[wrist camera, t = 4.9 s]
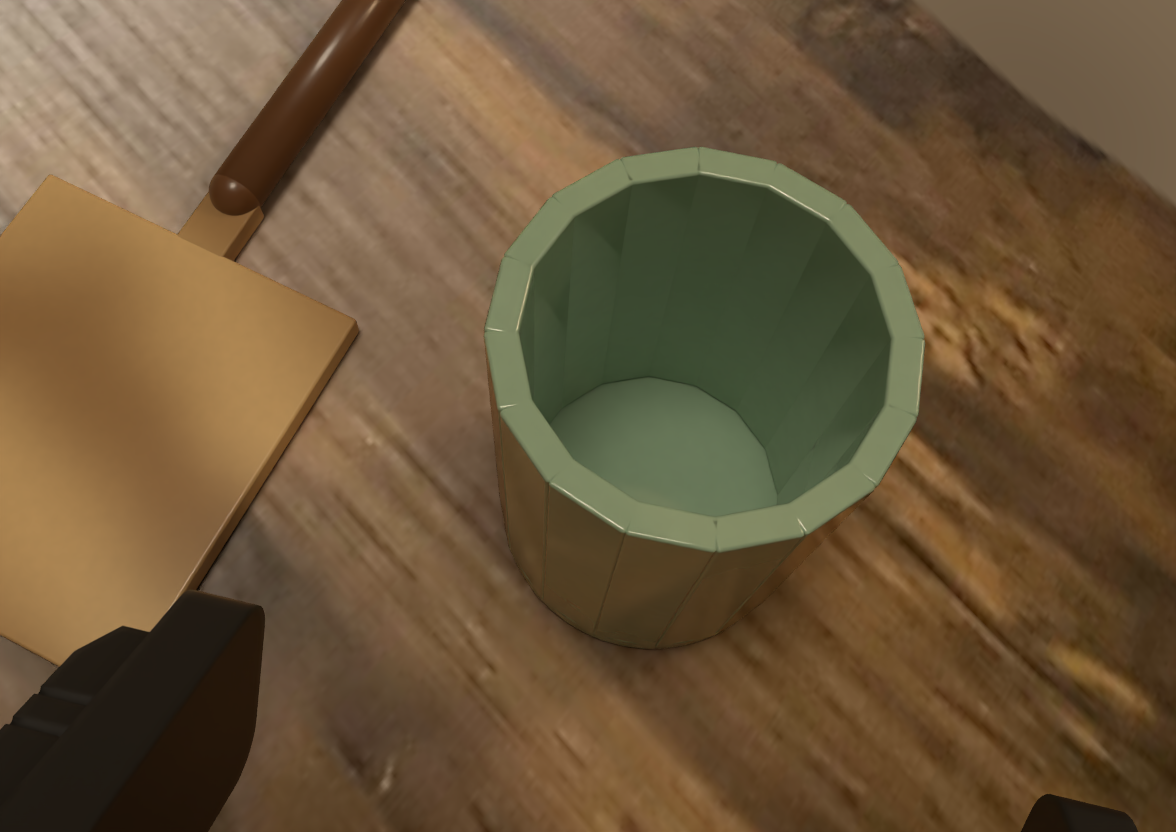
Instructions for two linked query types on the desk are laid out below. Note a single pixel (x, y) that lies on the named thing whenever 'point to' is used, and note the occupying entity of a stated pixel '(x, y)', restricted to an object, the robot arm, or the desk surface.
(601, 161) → the desk surface
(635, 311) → the pot
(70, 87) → the desk surface
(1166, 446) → the desk surface
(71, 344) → the spatula
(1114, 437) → the desk surface
